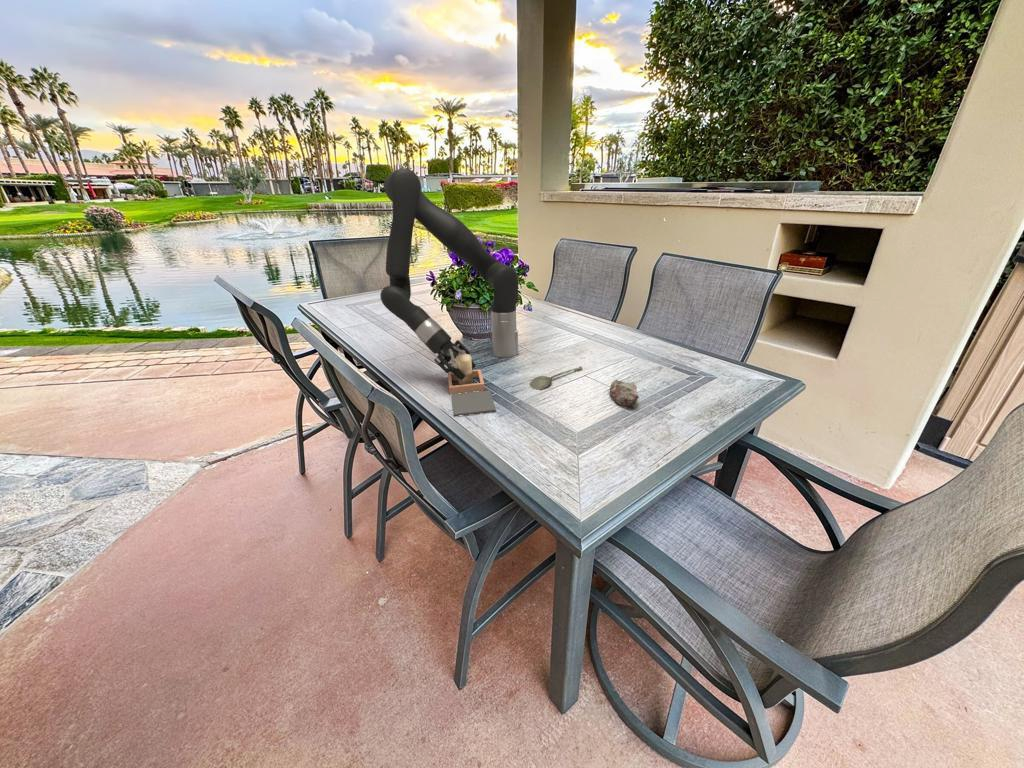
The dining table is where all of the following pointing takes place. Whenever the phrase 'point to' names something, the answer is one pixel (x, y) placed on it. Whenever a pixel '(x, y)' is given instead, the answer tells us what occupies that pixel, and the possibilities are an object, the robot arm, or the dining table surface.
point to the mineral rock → (624, 393)
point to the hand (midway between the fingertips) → (468, 372)
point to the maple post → (465, 368)
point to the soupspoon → (547, 380)
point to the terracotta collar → (466, 387)
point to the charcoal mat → (473, 403)
